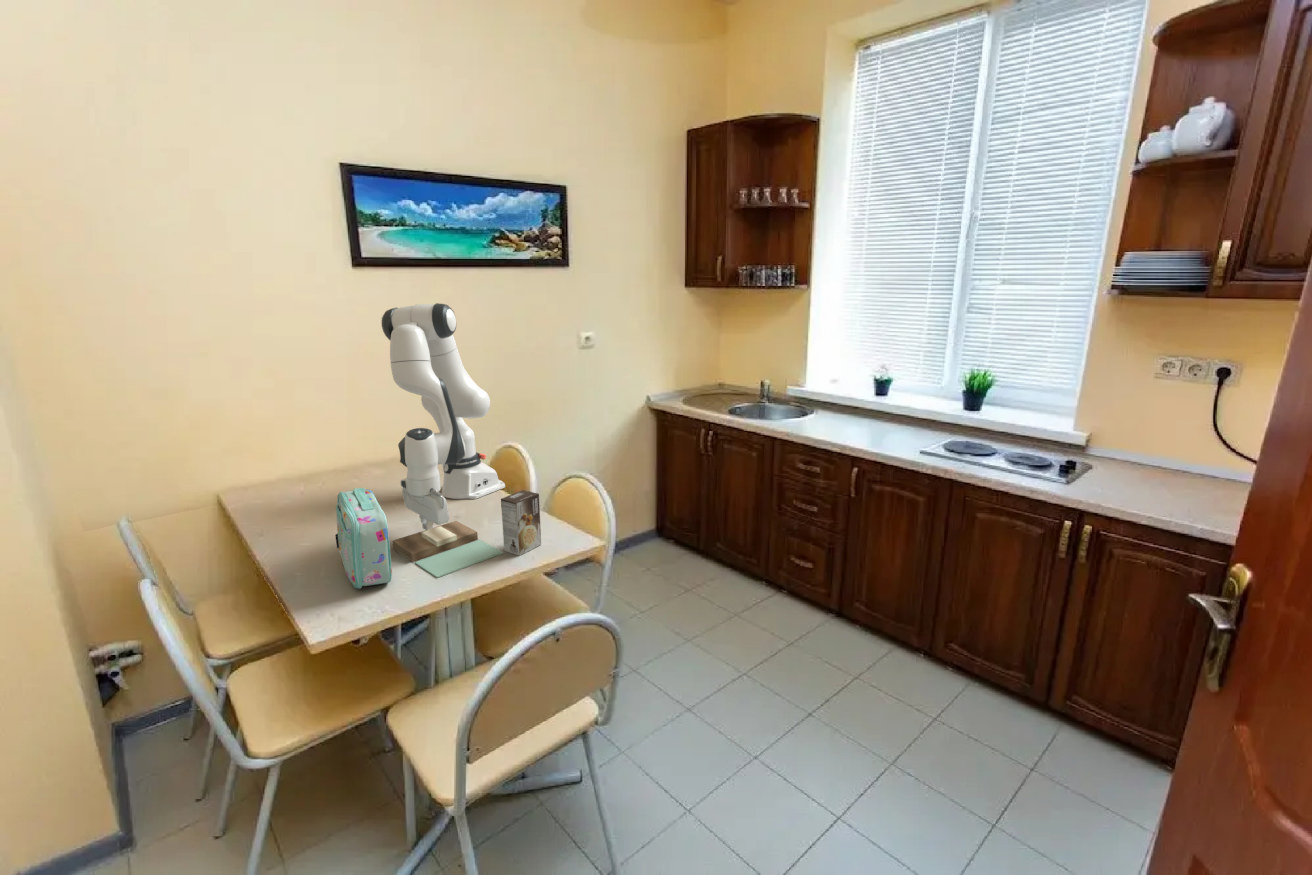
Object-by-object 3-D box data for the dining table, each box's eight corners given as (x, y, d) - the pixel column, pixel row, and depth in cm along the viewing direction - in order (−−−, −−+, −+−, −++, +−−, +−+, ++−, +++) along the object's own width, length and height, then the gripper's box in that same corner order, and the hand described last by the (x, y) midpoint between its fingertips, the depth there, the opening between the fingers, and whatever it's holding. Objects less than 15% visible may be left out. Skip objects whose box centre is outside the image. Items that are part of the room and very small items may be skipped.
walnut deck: (456, 528, 187) (456, 520, 186) (477, 539, 179) (477, 531, 178) (393, 548, 172) (392, 540, 172) (413, 562, 165) (412, 553, 164)
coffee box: (525, 539, 180) (523, 488, 176) (541, 544, 176) (540, 493, 172) (503, 550, 172) (500, 498, 168) (519, 556, 169) (517, 503, 165)
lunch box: (336, 557, 167) (326, 484, 161) (376, 548, 173) (368, 477, 167) (353, 598, 146) (343, 516, 140) (398, 587, 152) (390, 507, 146)
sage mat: (479, 540, 178) (479, 539, 178) (503, 553, 171) (503, 552, 171) (415, 563, 164) (414, 561, 164) (437, 578, 156) (437, 576, 156)
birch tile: (440, 530, 179) (440, 526, 178) (456, 539, 173) (456, 535, 172) (421, 537, 174) (421, 532, 174) (437, 546, 169) (437, 541, 168)
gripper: (452, 491, 169) (456, 536, 173) (417, 474, 182) (421, 517, 186) (431, 496, 164) (435, 543, 168) (397, 479, 178) (401, 522, 181)
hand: (428, 529), depth 177 cm, fingers closed
